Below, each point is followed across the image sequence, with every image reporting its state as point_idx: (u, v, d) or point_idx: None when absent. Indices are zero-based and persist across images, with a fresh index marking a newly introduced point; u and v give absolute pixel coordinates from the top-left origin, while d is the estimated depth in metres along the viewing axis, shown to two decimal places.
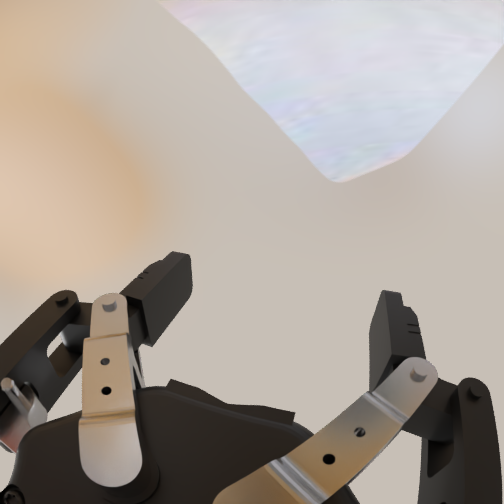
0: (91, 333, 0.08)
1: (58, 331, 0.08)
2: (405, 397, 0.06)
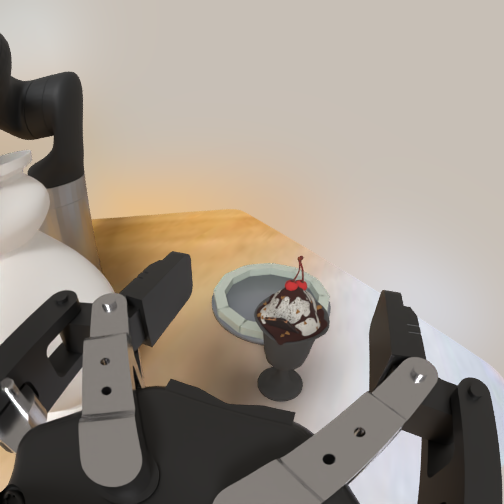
0: (91, 333, 0.08)
1: (58, 331, 0.08)
2: (405, 397, 0.06)
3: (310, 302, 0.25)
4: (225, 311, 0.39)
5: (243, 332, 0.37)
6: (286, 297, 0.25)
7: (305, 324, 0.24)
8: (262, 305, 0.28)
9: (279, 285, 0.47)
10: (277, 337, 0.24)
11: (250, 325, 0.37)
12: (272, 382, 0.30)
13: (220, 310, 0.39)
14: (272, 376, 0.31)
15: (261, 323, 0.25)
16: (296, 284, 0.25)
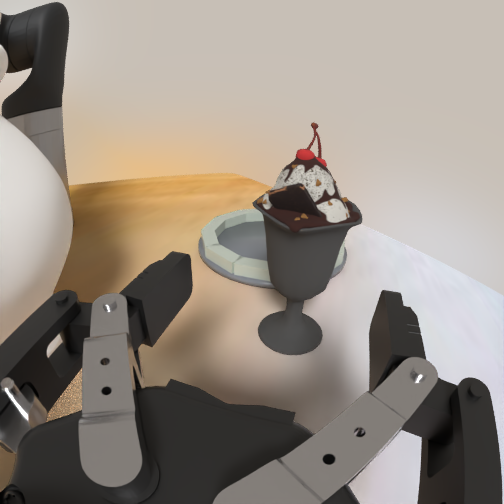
0: (91, 333, 0.08)
1: (58, 331, 0.08)
2: (405, 397, 0.06)
3: (333, 180, 0.17)
4: (214, 248, 0.31)
5: (237, 271, 0.29)
6: (299, 165, 0.16)
7: (330, 205, 0.16)
8: (264, 197, 0.19)
9: None
10: (289, 221, 0.16)
11: (247, 262, 0.29)
12: (279, 328, 0.22)
13: (208, 247, 0.31)
14: (278, 320, 0.23)
15: (263, 209, 0.17)
16: (312, 152, 0.17)
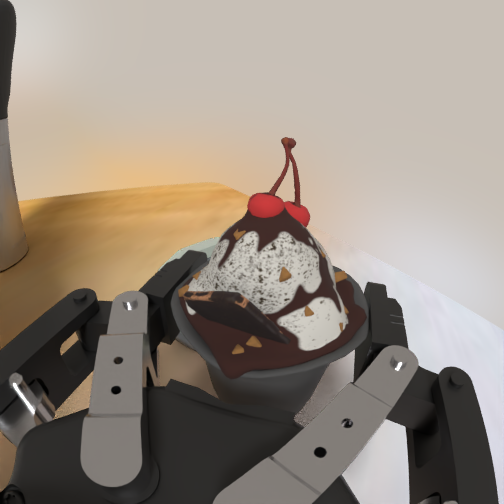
0: (108, 329, 0.08)
1: (73, 330, 0.08)
2: (388, 385, 0.07)
3: (321, 254, 0.09)
4: None
5: None
6: (250, 233, 0.08)
7: (309, 316, 0.08)
8: None
9: None
10: (222, 355, 0.08)
11: None
12: None
13: None
14: None
15: (185, 313, 0.09)
16: (279, 201, 0.09)
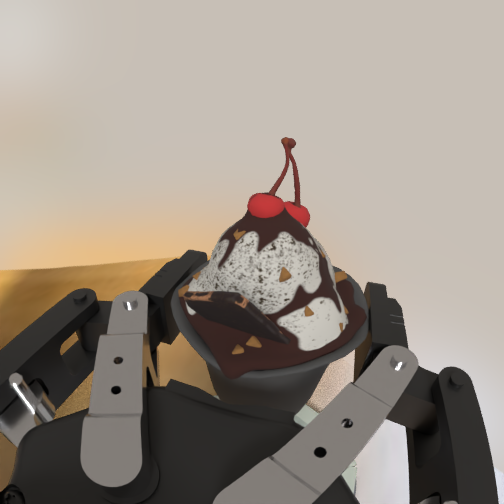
0: (108, 329, 0.08)
1: (73, 330, 0.08)
2: (388, 385, 0.07)
3: (321, 254, 0.09)
4: None
5: None
6: (249, 234, 0.08)
7: (309, 316, 0.08)
8: None
9: None
10: (222, 355, 0.08)
11: None
12: None
13: None
14: None
15: (185, 314, 0.09)
16: (279, 201, 0.09)
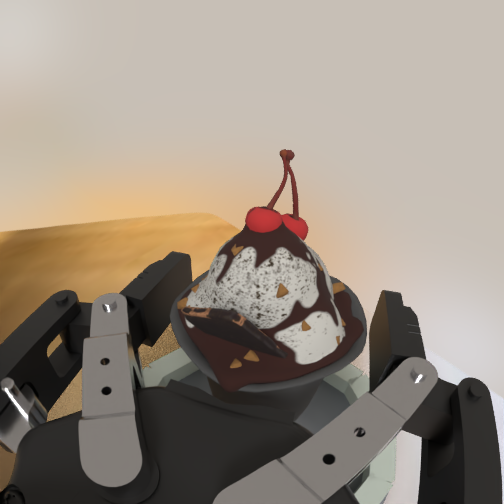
0: (91, 333, 0.08)
1: (58, 331, 0.08)
2: (405, 397, 0.06)
3: (318, 268, 0.09)
4: None
5: None
6: (247, 249, 0.08)
7: (306, 330, 0.08)
8: None
9: None
10: (221, 369, 0.08)
11: None
12: None
13: None
14: None
15: (184, 326, 0.09)
16: (277, 215, 0.09)
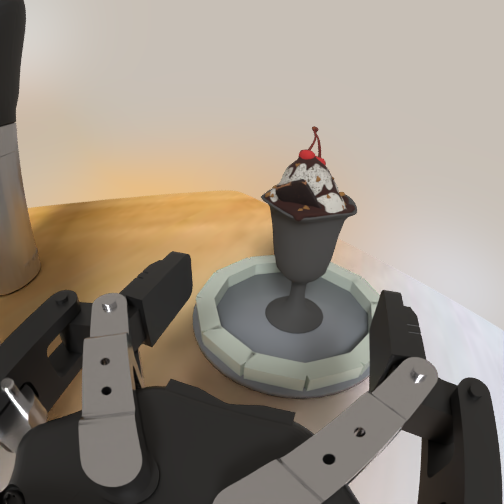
0: (91, 333, 0.08)
1: (58, 331, 0.08)
2: (405, 397, 0.06)
3: (331, 176, 0.20)
4: (215, 335, 0.21)
5: (249, 376, 0.19)
6: (302, 164, 0.19)
7: (328, 198, 0.19)
8: None
9: None
10: (293, 211, 0.18)
11: (262, 363, 0.19)
12: (284, 309, 0.25)
13: (206, 334, 0.21)
14: (283, 302, 0.25)
15: (271, 202, 0.20)
16: (313, 153, 0.19)
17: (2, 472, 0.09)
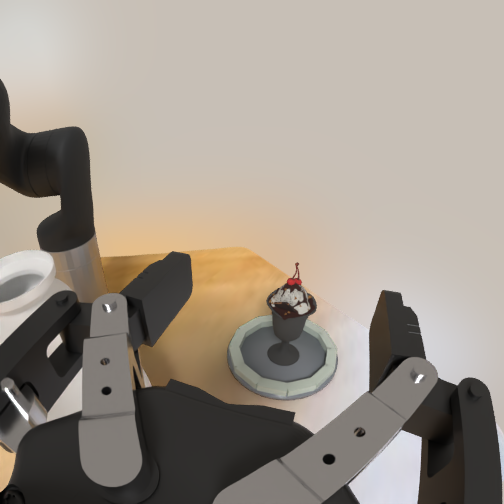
0: (91, 333, 0.08)
1: (58, 331, 0.08)
2: (405, 397, 0.06)
3: (303, 292, 0.39)
4: (241, 369, 0.40)
5: (259, 389, 0.38)
6: (288, 289, 0.38)
7: (300, 306, 0.38)
8: (271, 295, 0.41)
9: None
10: (282, 315, 0.38)
11: (266, 383, 0.38)
12: (278, 352, 0.44)
13: (237, 368, 0.41)
14: (277, 348, 0.45)
15: (271, 306, 0.39)
16: (294, 281, 0.39)
17: None
